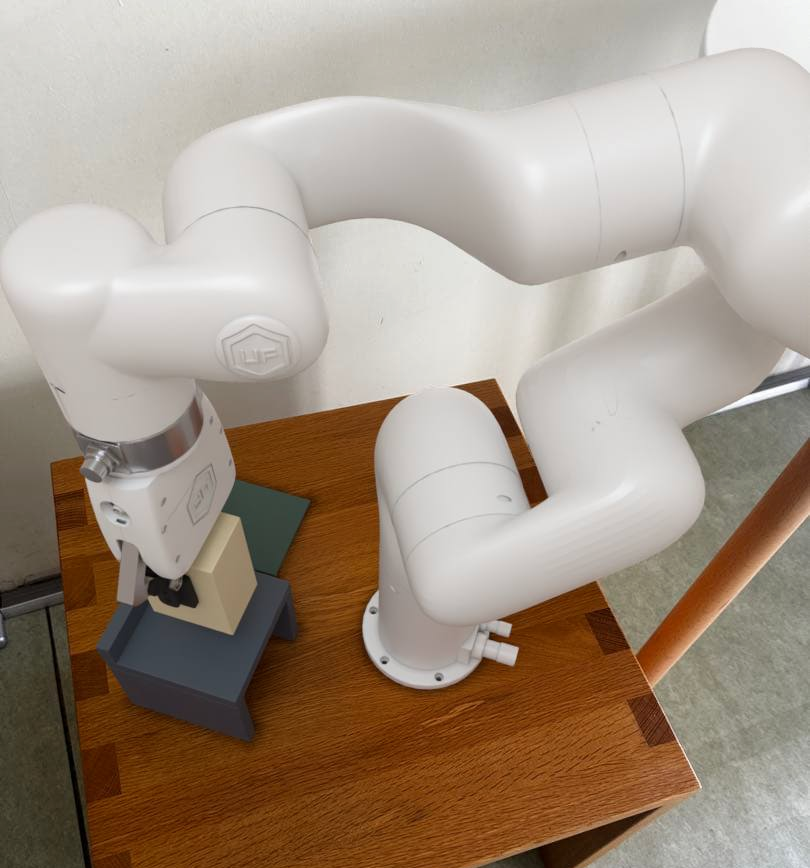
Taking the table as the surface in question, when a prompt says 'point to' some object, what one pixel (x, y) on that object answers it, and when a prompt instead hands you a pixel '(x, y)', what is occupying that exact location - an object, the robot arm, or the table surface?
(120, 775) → the table surface
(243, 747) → the table surface
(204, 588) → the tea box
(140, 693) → the shelf
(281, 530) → the mat
